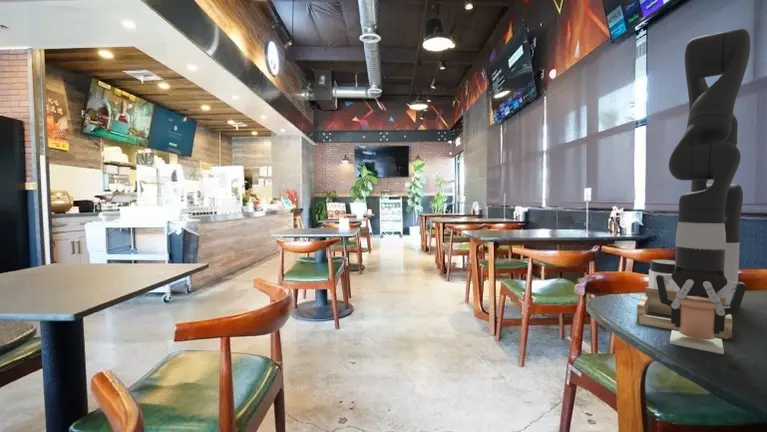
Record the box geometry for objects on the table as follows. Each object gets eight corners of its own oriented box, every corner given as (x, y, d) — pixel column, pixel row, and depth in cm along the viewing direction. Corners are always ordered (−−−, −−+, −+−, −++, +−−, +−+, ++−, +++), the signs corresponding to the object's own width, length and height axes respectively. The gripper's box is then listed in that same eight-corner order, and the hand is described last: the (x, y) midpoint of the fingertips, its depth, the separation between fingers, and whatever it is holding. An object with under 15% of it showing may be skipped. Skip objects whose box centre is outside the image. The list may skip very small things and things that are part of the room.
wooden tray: (642, 309, 99) (643, 286, 98) (727, 322, 88) (728, 297, 88) (636, 323, 88) (636, 297, 87) (732, 340, 77) (733, 311, 77)
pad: (671, 332, 81) (671, 330, 81) (721, 341, 76) (721, 338, 76) (669, 343, 75) (669, 340, 75) (723, 354, 70) (723, 351, 70)
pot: (677, 327, 80) (678, 294, 79) (716, 333, 76) (717, 299, 75) (676, 335, 75) (677, 300, 75) (717, 342, 71) (719, 306, 71)
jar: (692, 306, 102) (693, 262, 101) (683, 312, 96) (685, 265, 96) (652, 299, 108) (654, 258, 108) (643, 304, 103) (644, 261, 103)
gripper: (748, 246, 73) (744, 333, 74) (656, 241, 82) (653, 318, 83) (752, 250, 67) (748, 344, 68) (653, 244, 76) (650, 326, 77)
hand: (696, 329), depth 75 cm, fingers closed on pot, 5 cm apart
